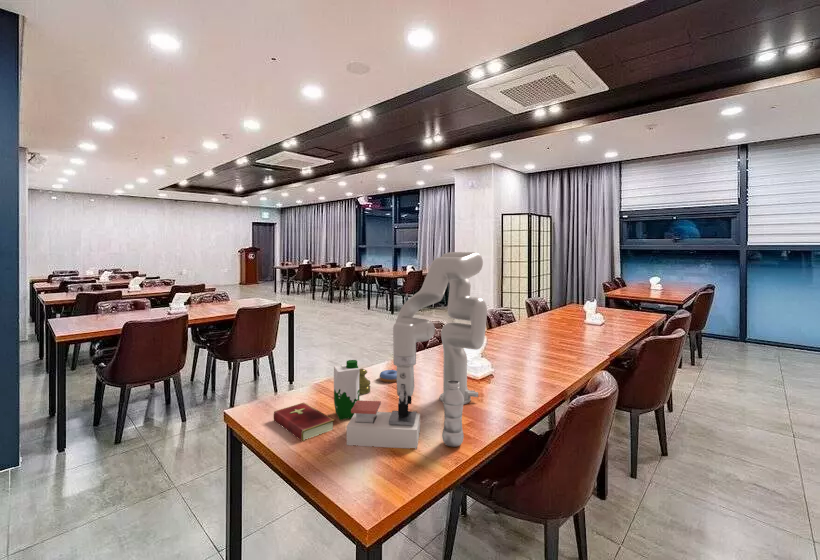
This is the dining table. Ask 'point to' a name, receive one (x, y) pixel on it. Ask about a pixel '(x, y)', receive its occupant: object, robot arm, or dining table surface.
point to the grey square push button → (403, 418)
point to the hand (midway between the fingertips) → (405, 409)
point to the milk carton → (346, 388)
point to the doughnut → (388, 376)
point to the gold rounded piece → (363, 382)
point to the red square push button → (366, 411)
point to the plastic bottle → (453, 415)
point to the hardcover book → (303, 421)
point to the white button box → (383, 432)
